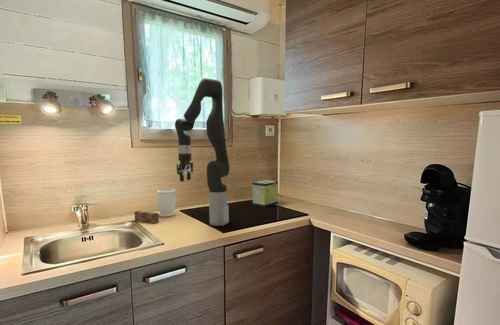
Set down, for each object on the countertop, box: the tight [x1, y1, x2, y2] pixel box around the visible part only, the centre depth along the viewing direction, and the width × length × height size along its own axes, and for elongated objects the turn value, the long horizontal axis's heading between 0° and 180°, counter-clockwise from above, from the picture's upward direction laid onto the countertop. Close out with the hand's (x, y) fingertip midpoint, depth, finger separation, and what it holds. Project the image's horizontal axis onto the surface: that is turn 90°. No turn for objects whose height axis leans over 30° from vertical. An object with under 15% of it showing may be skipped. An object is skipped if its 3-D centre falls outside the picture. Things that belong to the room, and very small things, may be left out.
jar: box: [156, 188, 177, 218], centre depth 159 cm, size 11×10×15 cm
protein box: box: [252, 179, 279, 208], centre depth 185 cm, size 10×16×16 cm
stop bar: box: [134, 210, 160, 225], centre depth 147 cm, size 14×2×5 cm, turn 69°
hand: (185, 180), depth 163 cm, fingers open, 6 cm apart
